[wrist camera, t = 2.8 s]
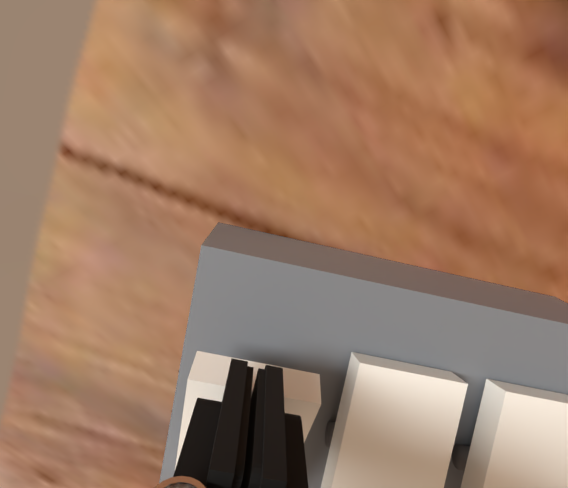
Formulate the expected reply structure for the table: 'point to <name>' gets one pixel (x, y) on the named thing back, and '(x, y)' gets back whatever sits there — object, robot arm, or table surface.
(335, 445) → the rocker
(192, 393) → the block
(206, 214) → the table surface
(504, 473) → the block
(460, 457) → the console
